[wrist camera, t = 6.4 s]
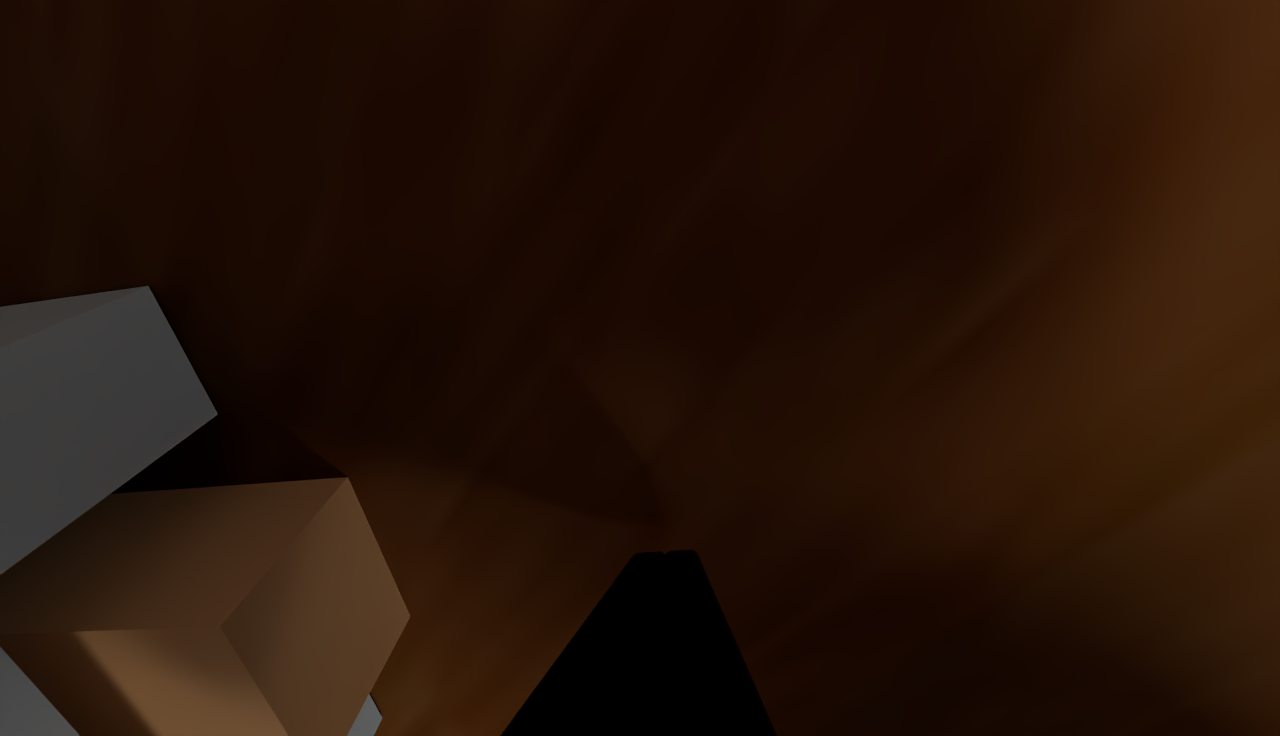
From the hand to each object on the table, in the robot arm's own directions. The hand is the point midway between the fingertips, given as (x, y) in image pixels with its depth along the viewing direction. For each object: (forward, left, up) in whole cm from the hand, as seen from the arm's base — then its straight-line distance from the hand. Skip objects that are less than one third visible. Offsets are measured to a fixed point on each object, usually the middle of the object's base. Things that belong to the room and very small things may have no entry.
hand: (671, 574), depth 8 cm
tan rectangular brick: (0, +8, -1) cm, 8 cm away
